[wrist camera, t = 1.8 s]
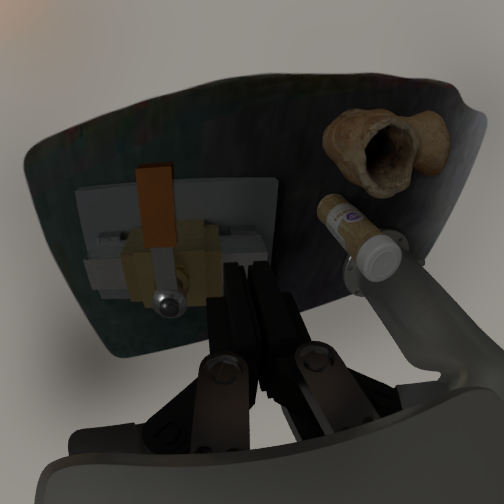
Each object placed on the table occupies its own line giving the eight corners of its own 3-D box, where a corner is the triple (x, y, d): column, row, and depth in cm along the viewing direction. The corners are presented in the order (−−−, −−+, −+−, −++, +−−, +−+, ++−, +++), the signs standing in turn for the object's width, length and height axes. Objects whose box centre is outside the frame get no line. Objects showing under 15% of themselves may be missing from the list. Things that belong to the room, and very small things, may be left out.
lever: (188, 308, 27) (188, 321, 25) (156, 309, 26) (154, 322, 25) (177, 161, 20) (175, 167, 18) (135, 164, 19) (129, 171, 17)
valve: (259, 217, 33) (278, 260, 26) (255, 266, 37) (271, 316, 29) (95, 225, 30) (67, 268, 22) (106, 272, 34) (87, 322, 26)
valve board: (275, 177, 33) (278, 181, 31) (265, 285, 41) (267, 292, 40) (79, 187, 29) (74, 191, 27) (104, 292, 37) (101, 298, 36)
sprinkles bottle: (339, 186, 35) (399, 235, 23) (350, 213, 37) (406, 268, 26) (309, 203, 35) (359, 260, 24) (323, 230, 38) (370, 291, 26)
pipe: (414, 165, 35) (461, 190, 26) (315, 177, 34) (353, 208, 25) (415, 105, 30) (467, 117, 21) (309, 105, 29) (350, 112, 20)
